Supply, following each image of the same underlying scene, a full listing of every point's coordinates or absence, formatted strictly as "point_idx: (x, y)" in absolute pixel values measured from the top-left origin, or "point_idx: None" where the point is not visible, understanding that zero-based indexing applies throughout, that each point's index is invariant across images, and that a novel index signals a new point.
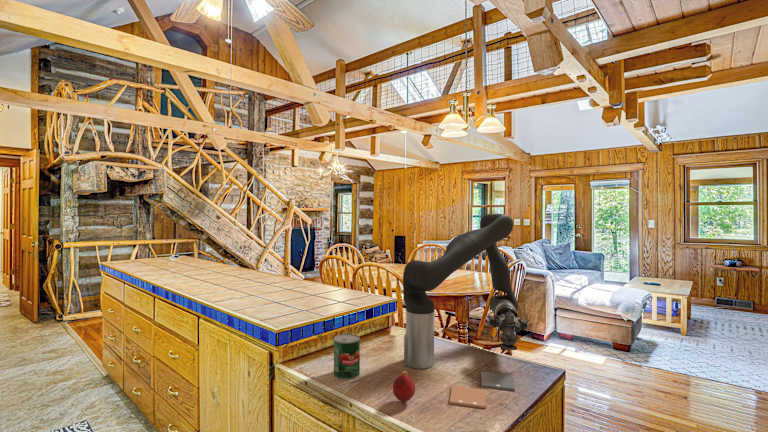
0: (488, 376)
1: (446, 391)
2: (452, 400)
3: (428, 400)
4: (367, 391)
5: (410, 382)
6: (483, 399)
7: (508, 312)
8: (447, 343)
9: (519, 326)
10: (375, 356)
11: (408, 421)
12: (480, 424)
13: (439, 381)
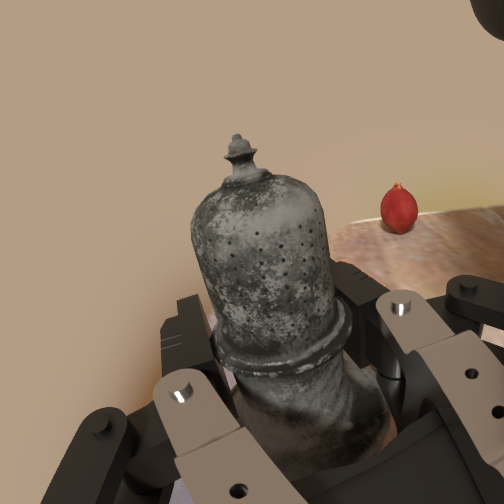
0: None
1: (382, 278)
2: (342, 261)
3: (380, 251)
4: (459, 221)
5: (384, 197)
6: None
7: (256, 170)
8: None
9: (166, 338)
10: None
11: (356, 224)
12: None
13: (429, 290)
